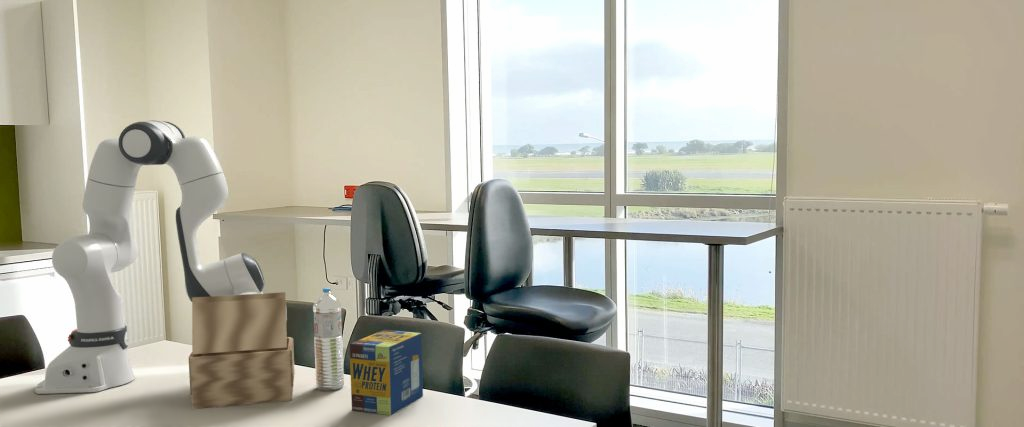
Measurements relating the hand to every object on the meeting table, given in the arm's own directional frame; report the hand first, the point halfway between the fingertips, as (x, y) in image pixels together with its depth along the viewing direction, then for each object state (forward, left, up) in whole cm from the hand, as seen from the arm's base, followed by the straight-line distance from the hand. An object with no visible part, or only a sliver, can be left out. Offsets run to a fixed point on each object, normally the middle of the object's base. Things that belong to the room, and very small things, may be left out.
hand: (241, 321), depth 184 cm
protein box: (+33, -11, -20) cm, 40 cm away
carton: (0, +5, -19) cm, 20 cm away
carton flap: (0, 0, 0) cm, 0 cm away
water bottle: (+20, +6, -19) cm, 28 cm away
